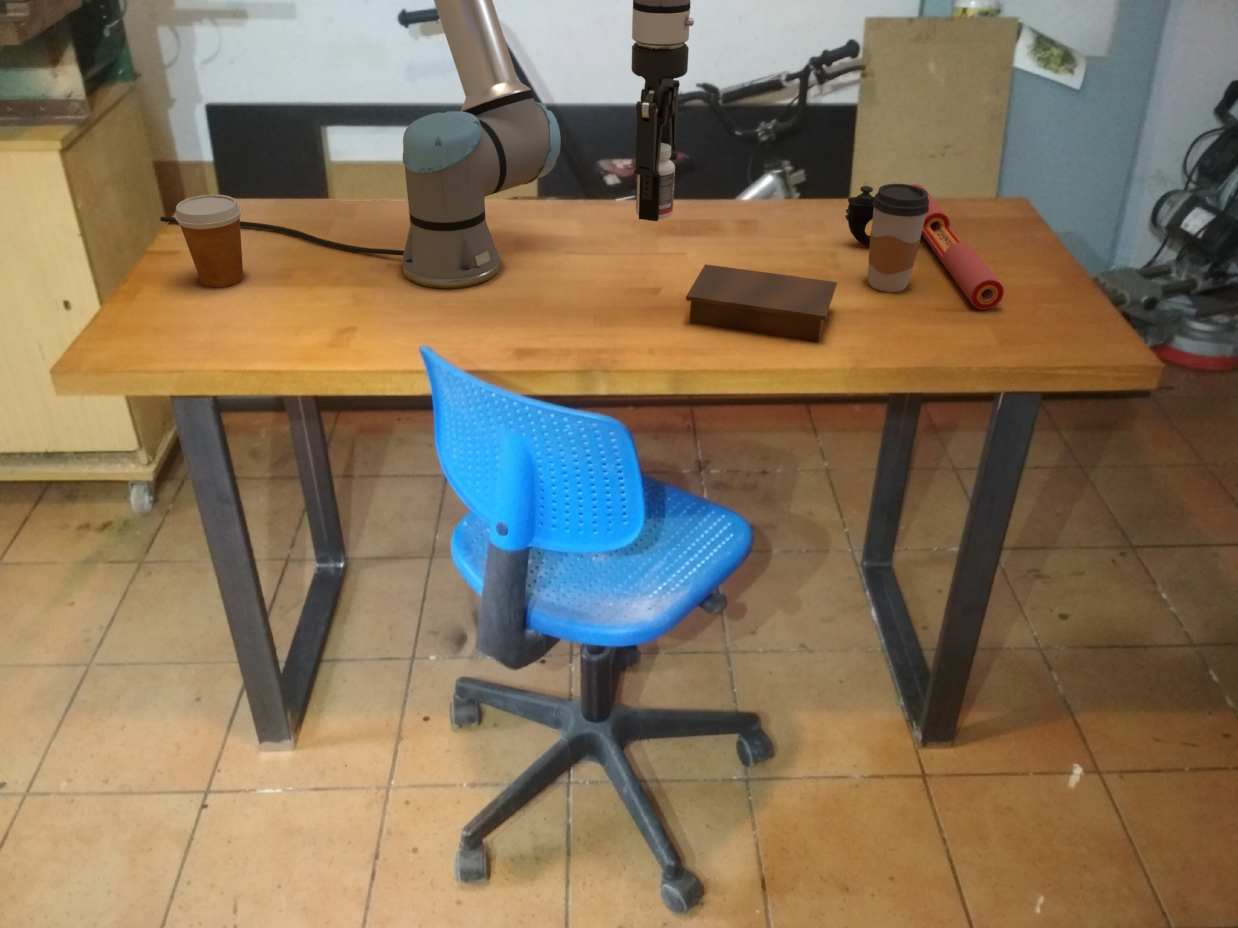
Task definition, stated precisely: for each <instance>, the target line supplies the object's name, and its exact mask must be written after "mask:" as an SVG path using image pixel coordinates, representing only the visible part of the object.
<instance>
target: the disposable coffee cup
mask: <svg viewBox="0 0 1238 928" xmlns="http://www.w3.org/2000/svg"><path fill="white" fill-rule="evenodd" d="M237 201H238V200H237V199H235V198H234V197H232V196H229V195H225V194H204V195H203V194H202V195H201V194H200V195H197V196H192V197H188V198H186V199H183V200H181V201H179V202H178V203H177V204H176V206H175V213H174V217H175V219H176V220H177V221H178V222H177V223H178V225H179V227H180V229H181V232H182V235H183V237H184V240H185V242H186V245H187V248H188V250H189V253H190V256H191V260H192V262H193V264H194V267H195V269H196V273H197V275H198V278H199V280H200V281H199V282H200V283H201V284H202V285H203V286H205V287H210V288H224V287H225V288H226V287H228V286H232V285H235V284H238V283H240V282H241V281H242V280H243V279H244V269H243V268H244V267H243V252H242V235H241V234H242V233H241V226H240V221H241V214H242V208H241V206H240V205H239V204H238V202H237Z"/></svg>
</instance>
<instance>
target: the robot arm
mask: <svg viewBox="0 0 1238 928" xmlns="http://www.w3.org/2000/svg"><path fill="white" fill-rule="evenodd" d="M433 2H434V5H435V9H436V11H437V14H438V17H439V20H440V24H441V27H442V29H443V32H444V35H445V38H446V41H447V45H448V47H449V50H450V54H451V56H452V59H453V62H454V66H455V69H456V71H457V75H458V78H459V81H460V84H461V86H462V90H463V93H464V96H465V97H464V101H463V104H462V106H461V108H460V111H459V110H447V111H446V112H441V111H440V112H435V113H431V114H427V115H425V116H422V117H419V118H417V119H416V120H414V121H413V122H411V123H410V124H409V125H408V126H407V127H406V129H405V131H404V132H403V136H402V163H403V165H404V175H405V185H406V193H407V195H406V196H407V204H408V205H407V206H408V215H409V228H408V233H407V236H406V241H405V244H404V245H405V246H404V249H402V250H401V249H400V250H399V249H389V248H375V247H374V248H371V247H364V246H356V245H351V244H346V243H341V242H336V241H331V240H327V239H325V238H324V239H323V238H320V237H317V236H314V235H311V234H308V233H305V232H302V231H300V230H297V229H292V228H290V227H289V228H288V227H283V226H279V225H274V224H267V223H261V222H252V221H242V220H240V227H243V228H244V227H245V228H246V227H247V228H256V229H262V230H263V229H264V230H270V231H275V232H280V233H285V234H289V235H293V236H297V237H300V238H303V239H305V240H307V241H311V242H314V243H316V244H320V245H324V246H328V247H332V248H336V249H340V250H346V251H351V252H355V253H356V252H358V253H364V254H374V255H375V254H376V255H391V256H392V255H393V256H402V261H401V263H402V264H401V265H402V272H403V275H404V277H405V278H406V279H407V280H409V281H411V282H412V283H414V284H417V285H420V286H423V287H429V288H434V289H458V288H466V287H471V286H476V285H480V284H482V283H484V282H486V281H489V280H490V279H492V278H494V277H495V276H496V275H497V274H498V272H499V271H500V269H501V268H500V267H501V266H500V256H499V252H498V249H497V247H496V244H495V241H494V238H493V236H492V233H491V231H490V229H489V226H488V223H487V221H486V202H485V198H486V197H488V196H492V195H494V194H498V193H501V192H503V191H507V190H510V189H513V188H516V187H520V186H523V185H528V184H530V183H534V182H535V181H537V180H538V179H541V178H543V177H545V176H547V175H548V174H550V172H552V170H553V169H554V168H555V166H556V164H557V162H558V161H557V160H558V158H559V157H560V153H561V148H562V147H561V146H562V137H561V131H560V130H561V129H560V126H559V123H558V121H557V118H556V116H555V114H554V113H553V111H551V110H548V109H549V108H548V107H547V106H546V105H545V104H543V103H541V102H538V101H535V98H534V95H533V92H532V88H530V86H528V85H526V84H524V83H522V82H520V80H519V79H518V77H517V73H516V70H515V66H514V63H513V61H512V57H511V54H510V52H509V48H508V44H507V42H506V39H505V36H504V33H503V29H502V26H501V23H500V20H499V17H498V14H497V11H496V6H495V4H494V1H493V0H433ZM691 3H692V2H691V0H632V16H631V17H632V18H631V19H632V20H631V39H632V40H633V41H634V43H633V45H632V46H631V71H632V73H633V74H634V75H635V76H637V77H641V78H642V79H644V87H643V88H642V89H641V91H640V100H637V101H636V104H635V109H636V139H635V141H636V142H635V167H634V168H635V169H634V170H633V175H635V176H637V175H640V191H639V215H638V220H642V221H643V220H644V221H649V222H650V221H651V222H658V221H659V219H658V218H659V192H660V175H659V174H658V167H659V157H660V148H661V143H665V144H668V145H670V146H671V157H670V158H669V160H670V161H677V160H678V156H679V153H675V152H676V150H677V129H678V104H679V103H678V102H679V101H678V100H679V90H680V85H681V83H680V80H678V79H680V78H681V77H684V76H685V75H687V73H688V69H689V68H688V67H689V47H688V45H687V44H686V43H687V42H688V41H689V39H690V27H692V26H694V25H695V24H694V23H695V20H694V18H692V17H690V14H691ZM159 218H160V221H161V222H166V223H178V221H177V220H176V219H175V216H174V217H173V216H160V217H159Z"/></svg>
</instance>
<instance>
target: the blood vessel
mask: <svg viewBox="0 0 1238 928" xmlns="http://www.w3.org/2000/svg"><path fill="white" fill-rule="evenodd" d="M911 185H913V186H917V187H920V188H922V189H924V190H925V191H927V189H926V187H925V186H923V185H921V184H919V183H913V184H911ZM927 193H928V199H929V211H928V212H927V213H926V217H925V221H924V225H923V229H922V233H921V236H922V237H923V238H924V240H925V241H926V242H927V244H928V245H929V247H930V248H931V249H932V250H933V252H934V253H935V255H936V256H937V258H938V259H939V260H940V261H941V263H942V265H943V266H944V267H945V268H946V270H947V272H948V273H949V274H950V276H951V277H952V278H953V279H954V281H955V282H956V284H957V286H959V288H960V289H961V291H962V292H963V294H964V295H965V296H966V298H967V299H968V301H969V302H970V303H971V305H972V306H973V307H974V308H976V309H978V310H983V311H984V310H986V311H987V310H990V309H993V308H994V307H997V306H998V305H999V304H1000V302H1001V301H1002V300H1003V298H1004V294H1005V288H1004V286H1003V284H1002V282H1001V281H1000V280H999V279H998V277H997V276H996V275H995V273H994V272H993V271H992V270H991V269H990V268H989V266H988V265H987V264H986V262H985V261H984V260H983V258H981V256H980V255H979V254H978V252H977V251H976V250H975V248H973V246H972V245H971V244H970V243H967V242H962V241H961V240H960V239H959V237H958V236H957V235H956V233H955V232H954V231H953V230H952V229H951V222H950V218H949V217H948V216H947V214H946V213H945V211H944V210H943V209H942V208H941V206H940V205H939V204H938V203H937V202H936V200H935V199H934V198H933V197H932V195H931V194H930V193H929V192H928V191H927Z"/></svg>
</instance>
